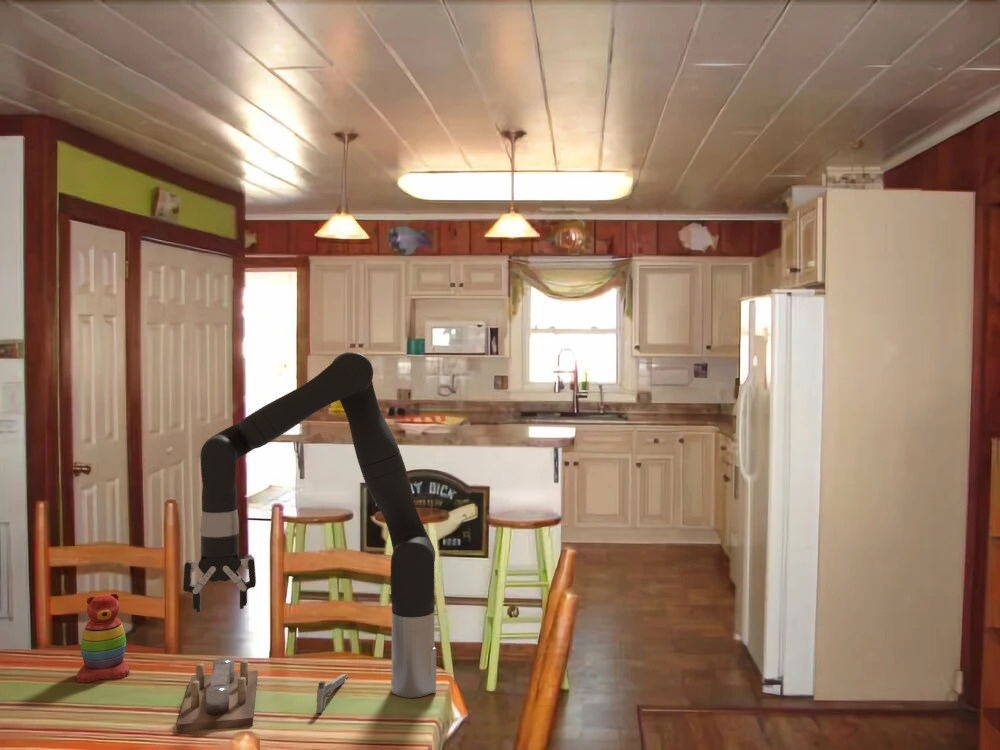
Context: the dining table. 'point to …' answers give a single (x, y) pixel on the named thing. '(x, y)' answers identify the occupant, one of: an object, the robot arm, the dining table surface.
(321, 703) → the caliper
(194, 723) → the board
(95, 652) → the stacking bear
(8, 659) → the dining table surface
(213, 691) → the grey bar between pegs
